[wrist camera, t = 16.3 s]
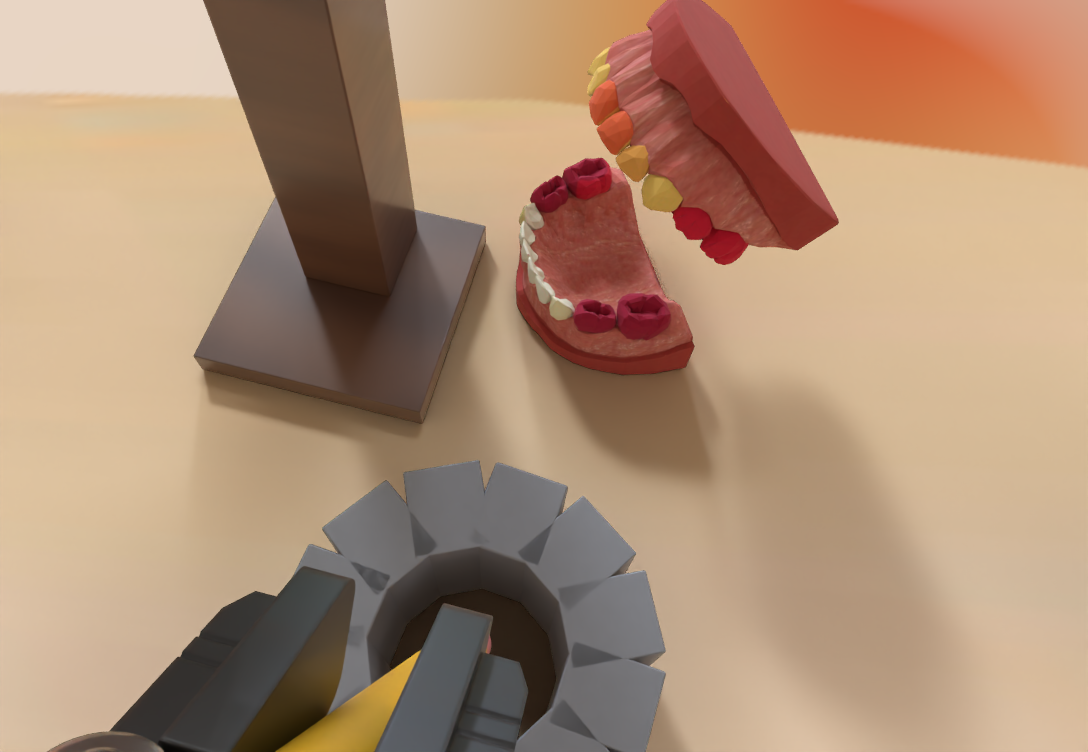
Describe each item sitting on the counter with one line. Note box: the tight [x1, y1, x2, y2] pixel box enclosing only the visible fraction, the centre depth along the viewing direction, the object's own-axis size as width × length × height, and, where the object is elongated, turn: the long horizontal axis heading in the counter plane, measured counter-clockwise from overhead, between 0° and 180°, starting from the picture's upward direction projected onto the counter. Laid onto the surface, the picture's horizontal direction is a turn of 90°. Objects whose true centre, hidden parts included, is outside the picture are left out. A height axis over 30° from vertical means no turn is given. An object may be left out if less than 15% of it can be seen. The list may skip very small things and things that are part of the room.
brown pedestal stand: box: [194, 0, 486, 424], centre depth 23 cm, size 12×10×32 cm
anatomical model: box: [516, 0, 839, 375], centre depth 33 cm, size 10×8×15 cm
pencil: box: [275, 636, 491, 752], centre depth 16 cm, size 20×1×1 cm
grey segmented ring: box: [293, 460, 666, 752], centre depth 28 cm, size 12×12×6 cm
